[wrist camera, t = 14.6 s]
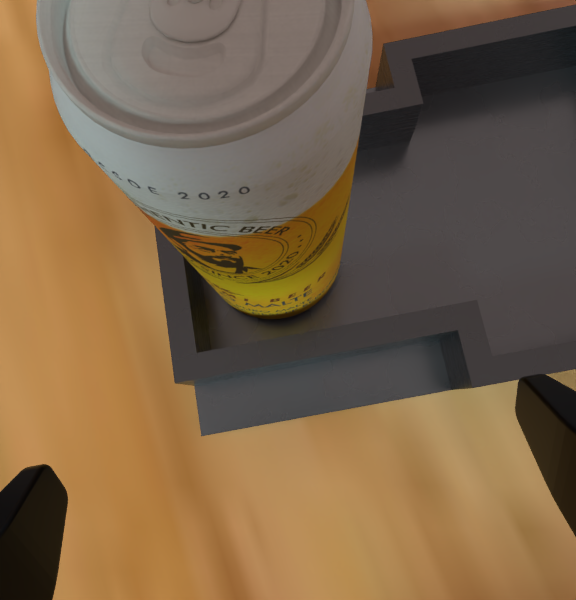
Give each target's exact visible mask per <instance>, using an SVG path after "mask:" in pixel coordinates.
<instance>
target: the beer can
mask: <svg viewBox="0 0 576 600" xmlns="http://www.w3.org/2000/svg"><path fill="white" fill-rule="evenodd" d="M36 22H37V33H38V38H39V43H40V47H41V51H42V53H43V56H44V59H45V61H46V64H47V66H48V68H49V74H50V82H51V87H52V92H53V96H54V100H55V103H56V106H57V108H58V111H59V114H60V116H61V118H62V120H63V122H64V123H65V125H66V127H67V129H68V131H69V132H70V133H71V135H72V136H73V138H74V139H75V140H76V142H77V143H78V144H79V145H80V146H81V148H82V149H83V150H84V151H85V152H86V153H87V154H88V155H89V156H90V157H91V158H92V159H93V160H94V161H95V162H96V164H97V165H98V166H99V167H100V168H101V169H102V170H103V171H104V172H105V173H106V174H107V175H108V176H109V177H110V178H111V180H112V181H113V182H114V183H115V184H116V185H117V186H118V187H119V188H120V189H121V190H122V191H123V192H124V193H125V194H126V196H127V197H128V198H129V199H130V200H131V201H132V202H133V203H134V204H135V205H136V206H137V207H138V208H139V209H140V210H141V212H142V213H143V214H144V215H145V216H146V217H147V218H148V219H149V220H150V221H151V222H152V223H153V224H154V225H155V226H156V228H157V229H158V230H159V231H160V232H161V233H162V234H163V235H164V236H165V237H166V238H167V239H168V240H169V241H170V242H171V243H172V245H173V246H174V247H175V248H176V249H177V250H178V251H179V252H180V253H181V254H182V255H183V256H184V257H185V258H186V259H187V261H188V262H189V263H190V264H191V265H192V266H193V267H194V268H195V269H196V270H197V271H198V272H199V273H200V274H201V275H202V277H203V278H204V279H205V280H206V281H207V282H208V283H209V284H210V285H211V286H212V287H213V288H214V289H215V290H216V291H217V293H218V294H219V295H220V296H221V297H222V298H223V299H224V300H225V301H226V302H227V303H228V304H230V305H231V306H232V307H234V308H235V309H237V310H238V311H240V312H242V313H244V314H247V315H250V316H253V317H257V318H262V319H281V318H287V317H291V316H294V315H297V314H300V313H302V312H304V311H306V310H308V309H309V308H311V307H312V306H314V305H315V304H316V303H317V302H318V301H320V300H321V299H322V298H323V297H324V295H325V294H326V293H327V292H328V290H329V289H330V288H331V286H332V284H333V282H334V281H335V278H336V276H337V273H338V270H339V266H340V260H341V254H342V247H343V241H344V234H345V227H346V221H347V214H348V208H349V201H350V194H351V188H352V181H353V175H354V168H355V161H356V155H357V148H358V142H359V135H360V129H361V122H362V115H363V109H364V102H365V96H366V89H367V82H368V76H369V69H370V63H371V56H372V26H371V18H370V14H369V10H368V6H367V2H366V0H37V13H36Z"/></svg>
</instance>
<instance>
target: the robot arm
mask: <svg viewBox="0 0 576 600" xmlns="http://www.w3.org/2000/svg"><path fill="white" fill-rule="evenodd" d="M515 411H516V416H517V420H518V422H519V424H520V427H521V429H522V431H523V433H524V435H525V438H526V440H527V442H528V444H529V446H530V449H531V451H532V453H533V455H534V458H535V460H536V462H537V464H538V466H539V469H540V471H541V473H542V475H543V477H544V480H545V482H546V484H547V486H548V488H549V490H550V492H551V494H552V496H553V498H554V500H555V502H556V504H557V505H558V507H559V509H560V511H561V512H562V514H563V516H564V518H565V519H566V521H567V523H568V524H569V526H570V528H571V529H572V531H573V533H574V535H575V536H576V391H574V390H572V389H570V388H569V387H567V386H565V385H563V384H562V383H560V382H558V381H556V380H554V379H553V378H551V377H549V376H547V375H545V374H535V375H529V376H524V377H521V378H520V380H519V382H518V388H517V397H516V406H515ZM67 504H68V495H67V491H66V489H65V487H64V486H63V484H62V483H61V481H60V480H59V478H58V477H57V475H56V474H55V472H54V471H53V470H52V468H51V467H50V466H48V465H46V464H42V465H37V466H31V467H27V468H25V469H23V470H22V471H21V472H20V473H19V474H18V475H17V476H16V477H15V478H14V479H13V480H12V481H11V482H10V483H9V484H8V485H7V486H6V487H5V488H4V489H3V490H2V491H1V492H0V600H52V599H53V594H54V590H55V585H56V580H57V575H58V569H59V561H60V554H61V547H62V540H63V533H64V526H65V519H66V512H67Z"/></svg>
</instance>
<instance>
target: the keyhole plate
mask: <svg viewBox="0 0 576 600" xmlns="http://www.w3.org/2000/svg"><path fill="white" fill-rule="evenodd" d="M154 226H155V225H154ZM155 233H156V241H157V249H158V257H159V264H160V272H161V280H162V287H163V295H164V303H165V311H166V318H167V326H168V334H169V341H170V349H171V357H172V365H173V372H174V380H175V383H176V384H185V385H193V386H195V393H196V400H197V407H198V414H199V422H200V429H201V436H205V435H210V434H215V433H221V432H226V431H232V430H237V429H242V428H248V427H253V426H259V425H264V424H269V423H275V422H280V421H286V420H291V419H296V418H302V417H307V416H312V415H318V414H323V413H329V412H334V411H339V410H345V409H350V408H356V407H361V406H366V405H372V404H377V403H383V402H388V401H393V400H399V399H404V398H410V397H415V396H420V395H426V394H431V393H437V392H442V391H447V390H454V389H466V388H475V387H481V386H486V385H491V384H497V383H502V382H508V381H513V380H518V379H520V378H521V377H524V376H529V375H535V374H551V373H556V372H562V371H567V370H572V369H576V5H572V6H567V7H562V8H557V9H552V10H547V11H542V12H537V13H532V14H527V15H522V16H518V17H513V18H508V19H503V20H498V21H493V22H488V23H483V24H478V25H473V26H469V27H464V28H459V29H454V30H449V31H444V32H439V33H434V34H429V35H424V36H419V37H415V38H410V39H405V40H400V41H395V42H390V43H385V44H383V49H382V55H381V60H380V66H379V71H378V77H377V82H376V87H375V88H370V89H366V96H365V102H364V109H363V115H362V122H361V129H360V135H359V142H358V148H357V155H356V161H355V168H354V175H353V181H352V188H351V194H350V201H349V208H348V214H347V221H346V227H345V234H344V241H343V247H342V254H341V260H340V266H339V270H338V273H337V276H336V278H335V281H334V282H333V284H332V286H331V288H330V289H329V290H328V292H327V293H326V294H325V295H324V297H323V298H322V299H321V300H320V301H318V302H317V303H316V304H315V305H314V306H312V307H311V308H309V309H308V310H306V311H304V312H302V313H300V314H297V315H294V316H291V317H287V318H281V319H262V318H257V317H253V316H250V315H247V314H244V313H242V312H240V311H238V310H237V309H235V308H234V307H232V306H231V305H230V304H228V303H227V302H226V301H225V300H224V299H223V298H222V297H221V296H220V295H219V294H218V293H217V291H216V290H215V289H214V288H213V287H212V286H211V285H210V284H209V283H208V282H207V281H206V280H205V279H204V278H203V277H202V275H201V274H200V273H199V272H198V271H197V270H196V269H195V268H194V267H193V266H192V265H191V264H190V263H189V262H188V261H187V259H186V258H185V257H184V256H183V255H182V254H181V253H180V252H179V251H178V250H177V249H176V248H175V247H174V246H173V245H172V243H171V242H170V241H169V240H168V239H167V238H166V237H165V236H164V235H163V234H162V233H161V232H160V231H159V230H158V229H157V228H156V226H155Z"/></svg>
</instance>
